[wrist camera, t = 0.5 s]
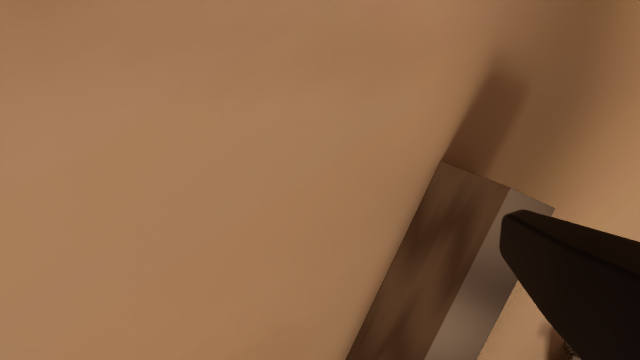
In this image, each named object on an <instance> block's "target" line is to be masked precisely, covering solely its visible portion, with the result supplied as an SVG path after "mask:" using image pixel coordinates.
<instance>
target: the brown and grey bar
mask: <svg viewBox="0 0 640 360" xmlns="http://www.w3.org/2000/svg"><path fill="white" fill-rule="evenodd" d="M521 209H525V210H529V211H533V212H536V213H540V214H543V215H547V216H550V217H551V215H552V213H553V211H554V209H555V208H553V207H551V206H549V205H546V204H544V203H542V202H540V201H538V200H536V199H533V198H531V197H529V196H527V195H525V194H523V193H521V192H518V191H516V190H514V189H512V188H509V187H507V186H504V185H502V184H499V183H496V182H494V181H491V180H489V179H486V178H483V177H481V176H478V175H476V174H473V173H470V172H468V171H465V170H463V169H460V168H457V167H455V166H452V165H450V164H447V163H444V162H442V161H441V162H440V164H439V166H438V168H437V170H436V173H435V175H434V177H433V179H432V181H431V183H430V185H429V187H428V189H427V191H426V194H425V196H424V198H423V200H422V202H421V204H420V206H419V208H418V210H417V212H416V215H415V217H414V219H413V221H412V223H411V225H410V227H409V229H408V231H407V233H406V236H405V238H404V240H403V242H402V244H401V246H400V248H399V250H398V252H397V254H396V256H395V259H394V261H393V263H392V265H391V267H390V269H389V271H388V273H387V275H386V277H385V280H384V282H383V284H382V286H381V288H380V290H379V292H378V294H377V296H376V298H375V301H374V303H373V305H372V307H371V309H370V311H369V313H368V315H367V317H366V319H365V322H364V324H363V326H362V328H361V330H360V332H359V334H358V336H357V338H356V340H355V342H354V345H353V347H352V349H351V351H350V353H349V355H348V357H347V359H346V360H476V359H477V357H478V355H479V353H480V352H481V350H482V348H483V346H484V344H485V342H486V340H487V338H488V336H489V334H490V332H491V330H492V328H493V327H494V325H495V323H496V321H497V319H498V317H499V315H500V313H501V311H502V309H503V307H504V305H505V303H506V302H507V300H508V298H509V296H510V294H511V292H512V290H513V288H514V286H515V284H516V282H517V280H518V279H517V277H516V276H515V275H514V273H513V272H512V270H511V269H510V268H509V266H508V265H507V263H506V262H505V261H504V259H503V257H502V255H501V253H500V249H499V241H500V231H501V221H502V218H503V216H504V215H506V214H508V213H511V212H514V211H517V210H521Z"/></svg>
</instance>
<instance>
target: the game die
mask: <svg viewBox="0 0 640 360" xmlns="http://www.w3.org/2000/svg"><path fill="white" fill-rule="evenodd" d="M565 350H566V351H567V353H569V354H570V358H569V360H581V359H580V358H579V357H578V355H577V354H575V353H574V351H573V350H572V349H571V347H570V346H569V345H568V344H567V343H565Z"/></svg>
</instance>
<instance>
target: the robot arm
mask: <svg viewBox="0 0 640 360" xmlns="http://www.w3.org/2000/svg"><path fill="white" fill-rule="evenodd" d="M499 249H500V253H501V255H502V257H503V259H504V261H505V262H506V263H507V265H508V266H509V268H510V269H511V270H512V272H513V273H514V275H515V276H516V277H517V279H518V280H519V282H520V283H521V284H522V286H523V287H524V289H525V290H526V292H527V293H528V294H529V296H530V297H531V299H532V300H533V301H534V303H535V304H536V306H537V307H538V308H539V310H540V311H541V312H542V314H543V315H544V316H545V318H546V319H547V320H548V322H549V323H550V324H551V325H552V326H553V328H554V329H555V330H556V331H557V332H558V334H559V335H560V336H561V337H562V338H563V339H564V340H565V342H566V343H567V344H568V345H569V346H570V347H571V349H572V350H573V351H574V352H575V353H576V354H577V355H578V357H579V358H580V359H581V360H640V242H638V241H634V240H631V239H627V238H624V237H620V236H617V235H613V234H610V233H606V232H603V231H599V230H596V229H592V228H589V227H585V226H582V225H578V224H575V223H571V222H568V221H564V220H561V219H557V218H554V217H550V216H547V215H543V214H540V213H536V212H533V211H529V210H525V209H521V210H517V211H514V212H511V213H508V214H506V215H504V216H503V218H502V221H501V231H500V241H499Z"/></svg>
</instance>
